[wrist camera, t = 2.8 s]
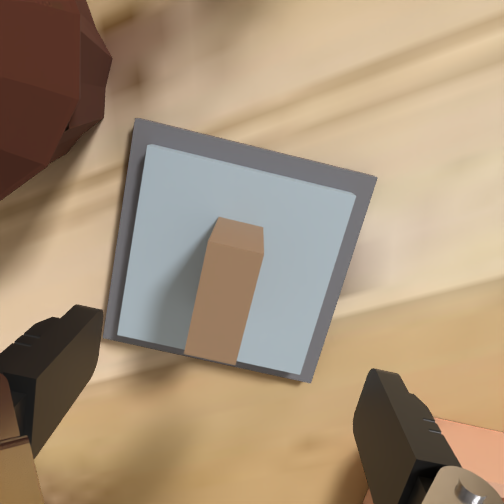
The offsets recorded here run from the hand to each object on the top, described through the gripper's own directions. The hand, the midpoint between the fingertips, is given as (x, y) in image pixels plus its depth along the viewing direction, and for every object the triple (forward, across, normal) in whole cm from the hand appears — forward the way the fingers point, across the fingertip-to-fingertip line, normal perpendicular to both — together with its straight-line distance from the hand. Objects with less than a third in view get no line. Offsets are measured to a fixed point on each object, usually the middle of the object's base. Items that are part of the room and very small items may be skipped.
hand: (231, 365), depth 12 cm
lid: (+10, +1, 0) cm, 10 cm away
